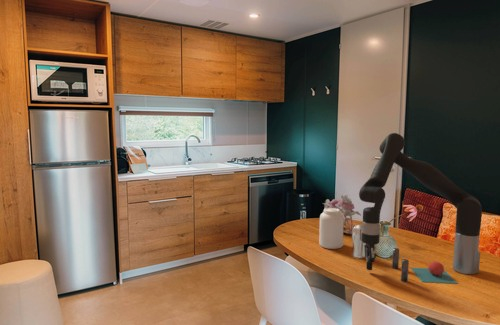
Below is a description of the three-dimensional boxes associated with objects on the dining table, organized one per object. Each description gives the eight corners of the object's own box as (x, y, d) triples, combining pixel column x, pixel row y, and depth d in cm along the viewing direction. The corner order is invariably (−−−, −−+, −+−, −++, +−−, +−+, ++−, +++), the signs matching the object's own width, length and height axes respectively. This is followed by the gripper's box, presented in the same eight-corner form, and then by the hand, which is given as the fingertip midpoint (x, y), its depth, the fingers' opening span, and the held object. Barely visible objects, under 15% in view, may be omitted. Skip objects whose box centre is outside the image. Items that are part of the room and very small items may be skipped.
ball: (432, 256, 157) (423, 266, 157) (438, 261, 151) (428, 271, 151) (443, 265, 156) (433, 275, 157) (449, 270, 151) (439, 280, 151)
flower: (372, 227, 216) (356, 189, 221) (362, 234, 197) (345, 192, 202) (342, 236, 226) (327, 199, 231) (330, 243, 207) (315, 203, 212)
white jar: (340, 241, 197) (341, 206, 194) (344, 249, 184) (345, 212, 182) (318, 241, 198) (318, 206, 195) (320, 249, 185) (321, 211, 183)
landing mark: (443, 269, 160) (443, 268, 160) (457, 283, 146) (457, 283, 146) (410, 268, 162) (410, 267, 162) (422, 282, 148) (422, 281, 148)
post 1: (397, 266, 163) (398, 247, 162) (399, 269, 161) (400, 250, 159) (391, 266, 163) (392, 247, 162) (393, 268, 161) (394, 249, 160)
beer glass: (356, 259, 172) (357, 229, 170) (348, 254, 178) (349, 225, 176) (368, 258, 173) (370, 228, 172) (360, 252, 180) (361, 224, 178)
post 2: (406, 279, 150) (407, 259, 149) (408, 282, 148) (409, 261, 147) (400, 279, 150) (401, 258, 149) (402, 282, 148) (403, 261, 147)
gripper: (383, 236, 148) (381, 276, 150) (375, 227, 161) (374, 263, 163) (364, 236, 149) (363, 275, 151) (358, 226, 162) (357, 263, 164)
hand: (369, 269), depth 157 cm, fingers closed
